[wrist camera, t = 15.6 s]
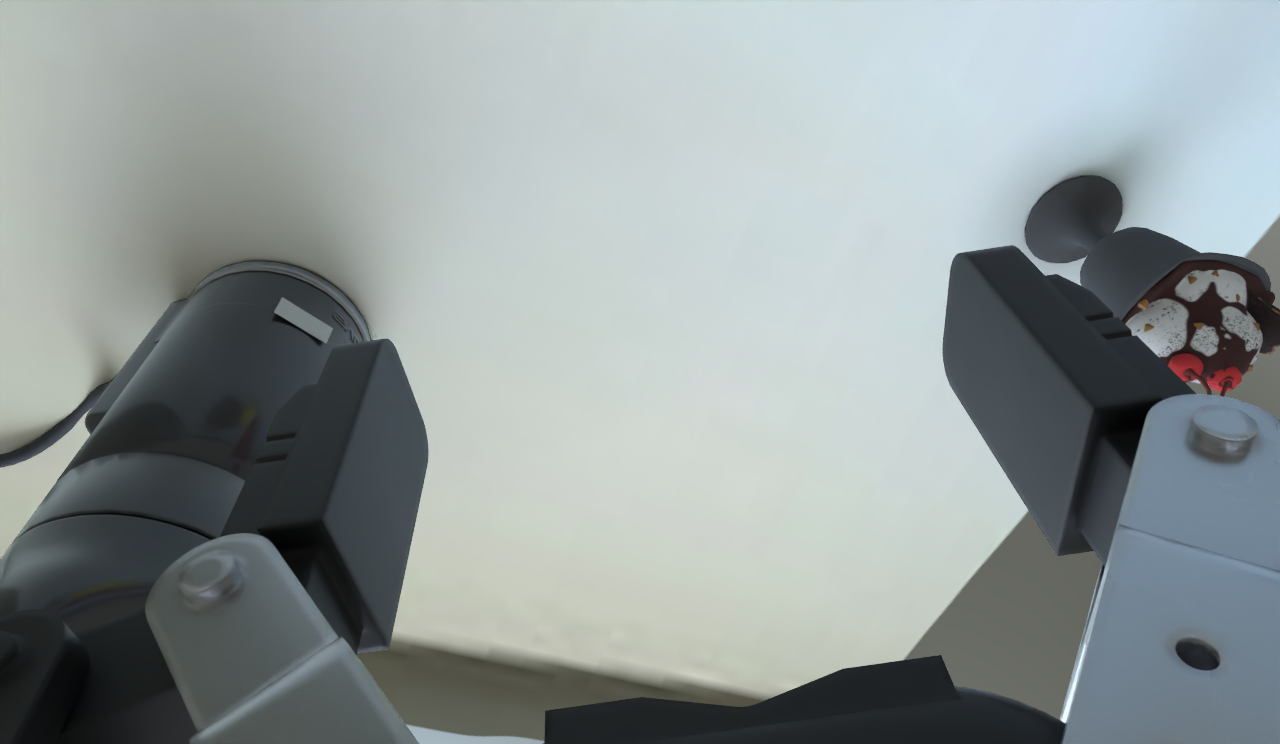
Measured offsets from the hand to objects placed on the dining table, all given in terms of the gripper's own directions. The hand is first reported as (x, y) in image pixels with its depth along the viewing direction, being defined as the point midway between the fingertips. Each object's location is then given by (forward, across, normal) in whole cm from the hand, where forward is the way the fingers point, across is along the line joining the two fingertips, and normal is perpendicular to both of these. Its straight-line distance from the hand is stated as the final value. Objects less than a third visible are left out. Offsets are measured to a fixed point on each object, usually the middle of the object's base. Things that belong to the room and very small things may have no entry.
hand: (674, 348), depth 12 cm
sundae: (+28, -22, +15) cm, 39 cm away
